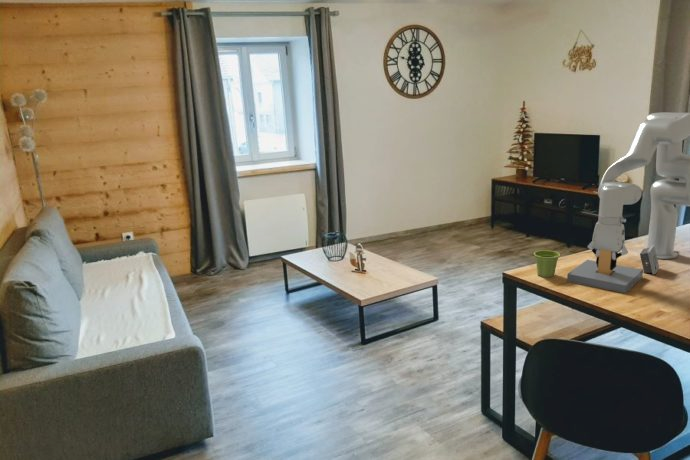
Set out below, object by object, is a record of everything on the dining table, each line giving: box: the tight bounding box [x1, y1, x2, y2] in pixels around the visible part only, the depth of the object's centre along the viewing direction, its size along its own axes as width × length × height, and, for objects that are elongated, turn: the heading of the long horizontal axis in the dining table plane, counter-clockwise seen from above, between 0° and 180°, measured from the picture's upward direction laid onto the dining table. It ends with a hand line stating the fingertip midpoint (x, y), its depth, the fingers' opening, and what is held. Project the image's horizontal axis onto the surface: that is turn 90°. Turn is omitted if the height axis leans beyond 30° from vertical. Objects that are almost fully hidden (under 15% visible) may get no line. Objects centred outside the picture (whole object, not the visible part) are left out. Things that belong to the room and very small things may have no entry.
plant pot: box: [533, 249, 561, 278], centre depth 199 cm, size 9×9×9 cm
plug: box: [598, 249, 613, 275], centre depth 191 cm, size 4×4×10 cm
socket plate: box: [566, 259, 644, 294], centre depth 193 cm, size 20×20×3 cm
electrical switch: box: [639, 246, 660, 276], centre depth 199 cm, size 9×5×9 cm, turn 141°
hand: (605, 267), depth 192 cm, fingers closed on plug, 3 cm apart
